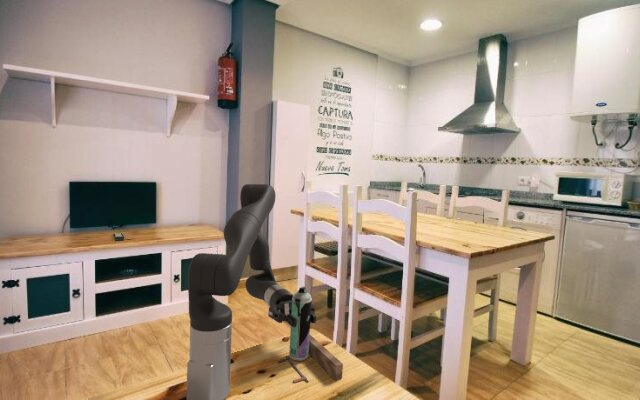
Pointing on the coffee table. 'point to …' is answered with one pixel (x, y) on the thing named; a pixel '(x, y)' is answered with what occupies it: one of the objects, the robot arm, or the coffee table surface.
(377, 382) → the coffee table surface
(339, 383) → the coffee table surface
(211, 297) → the robot arm
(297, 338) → the spray can
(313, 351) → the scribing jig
